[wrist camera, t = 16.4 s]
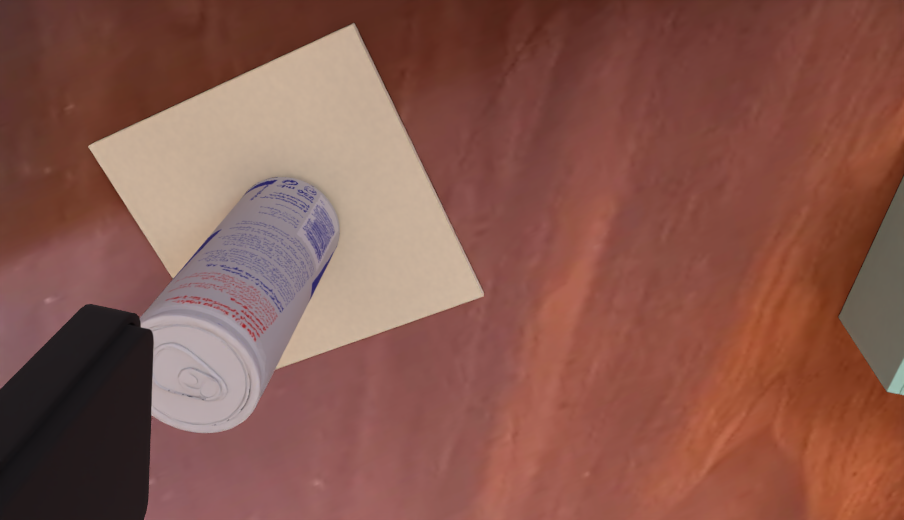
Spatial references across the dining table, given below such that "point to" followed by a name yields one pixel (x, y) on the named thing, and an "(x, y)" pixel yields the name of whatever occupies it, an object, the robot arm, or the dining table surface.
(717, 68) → the dining table surface
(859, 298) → the open square box
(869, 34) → the dining table surface
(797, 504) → the dining table surface
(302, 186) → the beverage can
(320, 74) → the mat
